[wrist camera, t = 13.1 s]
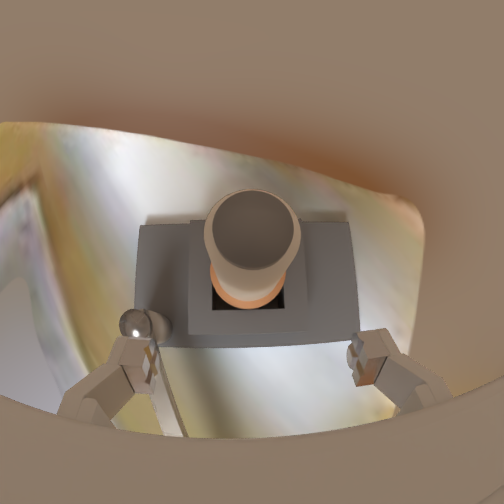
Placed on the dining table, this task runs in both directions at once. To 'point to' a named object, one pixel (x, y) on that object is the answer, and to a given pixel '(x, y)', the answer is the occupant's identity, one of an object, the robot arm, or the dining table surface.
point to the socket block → (246, 320)
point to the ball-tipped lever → (162, 399)
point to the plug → (250, 246)
